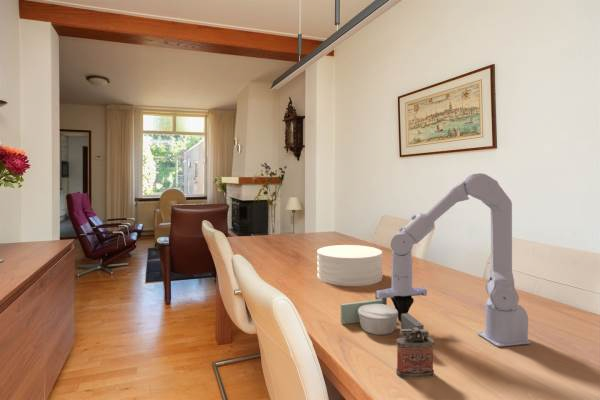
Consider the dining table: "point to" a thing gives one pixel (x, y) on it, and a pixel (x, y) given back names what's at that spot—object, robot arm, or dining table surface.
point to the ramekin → (378, 318)
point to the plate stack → (349, 265)
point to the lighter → (414, 354)
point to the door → (354, 310)
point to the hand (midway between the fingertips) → (401, 321)
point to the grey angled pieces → (406, 319)
